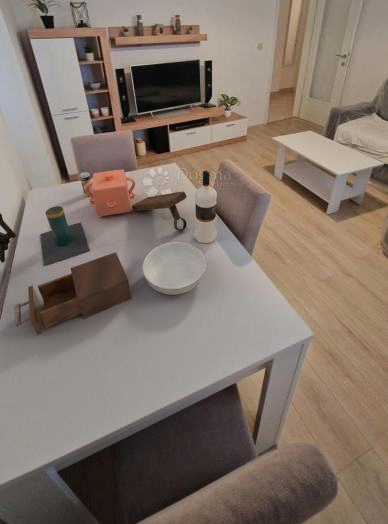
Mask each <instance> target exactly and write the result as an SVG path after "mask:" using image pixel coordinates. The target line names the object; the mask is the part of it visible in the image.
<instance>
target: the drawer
mask: <svg viewBox="0 0 388 524" xmlns="http://www.w3.org/2000/svg"><path fill="white" fill-rule="evenodd" d="M37 289H38V292H39V293H40V295H41V298H42V302H43V310H42V311H41V308H40V307H41V306H40V299H39V297H38V294H37V291H36V290H35V288H34V285H30V286H27V291H28V292H27V293H28V301H25V302H22V303H16V304H15V305H14V327H20V326H21V325H22V324H25V323H26V322H30V324H31V326H32V328H33V330H34V332H35V334H36V336H39V335H41V334H42V333H43V331H42V322H43V324H44V326H45V328H46V329H48V328H51V327H53V326H56V325H58V324H60V323H62V322H65V321H68V320H69V319H72V318H74V317H77V316H79V315H82V312H81V309H80V306H79V303H78V300H77V295H76V291H75V286H74V282H73V277H72V273H68V274H66V275H63V276H61V277H58V278H56V279H55V278H54V279H52V280H50V281H47V282H44V283H41V284H39V285H37ZM25 306H28V314H29V315H28V316H29V317H27V318H23V319H22V307H25ZM41 319H42V320H41Z"/></svg>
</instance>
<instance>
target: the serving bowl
mask: <svg viewBox="0 0 388 524" xmlns="http://www.w3.org/2000/svg"><path fill="white" fill-rule="evenodd" d="M206 267H207V262H206V258H205V255H204V253H203V252H202V251H201V250H200V249H199V248H198V247H196V246H195V245H193V244H190V243H188V242H181V241H173V242H167V243H162V244H160V245H158V246H156V247H155V248H153V249H152V250H150V251H149V252H148V254H147V255H146V256H145V257H144V260H143V262H142V273H143V276H144V279H145V280H146V282H147V284H148V285H149V286H150V287H151V288H152V289H153V290H155V291H156V292H159V293H161V294H165V295H175V296H176V295H181V294H184V293H187V292H189V291H191V290H193V289H194V288H195V287H196V286H197V285H199V283H200V282H201V281H202V279H203V278H204V275H205V272H206Z"/></svg>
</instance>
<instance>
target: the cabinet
mask: <svg viewBox="0 0 388 524" xmlns="http://www.w3.org/2000/svg"><path fill="white" fill-rule="evenodd" d="M70 272H71V273H72V277H73V282H74V286H75V291H76V295H77V300H78V303H79V306H80V309H81V312H82V313H81V315H82V317H83V320H85V319H87V318H88V319H89V318H90V317H92V316H94V315H96V314H99V313H101V312H103V311H106V310H108V309H111V308H113V307H115V306H117V305H120V304H122V303H124V302H127V301H130V300H131V299H132V293H131V292H132V291H131V288H130V282H129V278H128V276H127V274H126V272H125V269H124V266H123V265H122V262H121V260H120V257H119V255H118V253H117V252H116V251H115V252H112V253H109V254H107V255H104V256H101V257H97V258H95V259H92V260H88V261H87V262H84V263H81V264H78V265H76V266H71V267H70ZM71 273H70V274H71Z"/></svg>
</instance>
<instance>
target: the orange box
mask: <svg viewBox="0 0 388 524" xmlns="http://www.w3.org/2000/svg"><path fill="white" fill-rule="evenodd" d="M128 181H130V182H131V183H132V184H131V186H130V188H129V186H128ZM90 185H92V192H93V194H92V193H90V192H89V191H88V189H87V188H88V187H89V186H90ZM135 187H136V181H135V179H134V178H133V177H131V176H126V173H125V169H114V170H107V171H100V172H99V171H98V172H94V173H93V174H92V180H91V182H89V183H87V184H86V185H85V187H84V190H85V192H86V194H87V195H89V196H88V197H89V200H88V201H89V204H90V205H94V209H95V213H96V216H97V217H99V218H100V217H105V216H112V215H117V214H125V213H129V212H131V200H132V199H134V198H135V196H136V193H135V192H134V189H135Z"/></svg>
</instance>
